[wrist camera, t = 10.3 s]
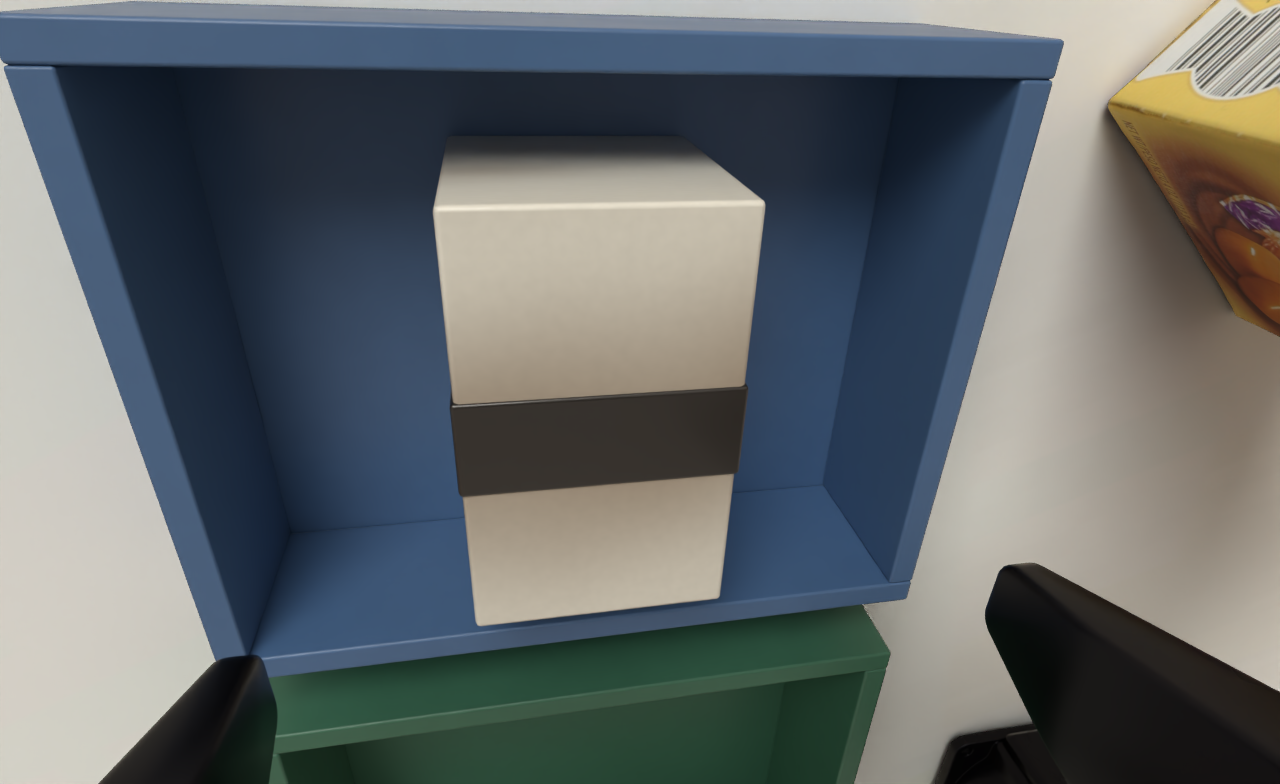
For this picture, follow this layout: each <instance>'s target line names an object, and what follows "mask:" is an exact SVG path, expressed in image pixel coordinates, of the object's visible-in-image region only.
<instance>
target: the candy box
mask: <svg viewBox="0 0 1280 784" xmlns="http://www.w3.org/2000/svg"><path fill="white" fill-rule="evenodd" d="M1108 108H1109V111H1110V112H1111V114H1112V116H1113V118H1114V119H1115V121H1116V122H1117V123H1118V125H1119V127H1120V128H1121V130H1122V132H1123V133H1124V134H1125V136H1126V137H1127V139H1128V140H1129V141H1130V143H1131V144H1132V146H1133V147H1134V148H1135V149H1136V151H1137V153H1138V154H1139V156H1140V158H1141V159H1142V161H1143V162H1144V164H1145V165H1146V167H1147V168H1148V170H1149V172H1150V173H1151V175H1152V177H1153V178H1154V180H1155V181H1156V183H1157V184H1158V186H1159V187H1160V189H1161V191H1162V193H1163V194H1164V195H1165V197H1166V199H1167V200H1168V202H1169V204H1170V205H1171V207H1172V208H1173V210H1174V212H1175V213H1176V215H1177V216H1178V218H1179V220H1180V222H1181V224H1182V225H1183V227H1184V228H1185V230H1186V231H1187V233H1188V235H1189V236H1190V238H1191V239H1192V241H1193V242H1194V244H1195V246H1196V248H1197V249H1198V251H1199V253H1200V254H1201V256H1202V258H1203V260H1204V261H1205V263H1206V265H1207V266H1208V268H1209V269H1210V271H1211V272H1212V274H1213V275H1214V277H1215V278H1216V280H1217V282H1218V283H1219V285H1220V287H1221V289H1222V290H1223V292H1224V294H1225V296H1226V298H1227V300H1228V302H1229V303H1230V305H1231V306H1232V309H1233V311H1234V313H1235V315H1236V316H1238V317H1240V318H1242V319H1244V320H1246V321H1248V322H1250V323H1252V324H1255V325H1257V326H1259V327H1261V328H1263V329H1265V330H1267V331H1269V332H1271V333H1273V334H1275V335H1277V336H1279V337H1280V0H1216V1H1215V2H1214V3H1213V4H1212V5H1211V6H1210V7H1209V8H1207V9H1206V10H1205V11H1204V12H1203V13H1202V14H1201V15H1200V16H1199V17H1198V18H1197V19H1196V20H1194V21H1193V22H1192V23H1191V24H1190V25H1189V26H1188V27H1187V28H1186V29H1185V30H1184V31H1183V32H1182V33H1181V34H1179V35H1178V36H1177V37H1176V38H1175V39H1174V40H1173V41H1172V42H1171V43H1170V44H1169V45H1168V46H1167V47H1166V48H1165V49H1164V50H1163V51H1162V52H1161V53H1160V54H1159V55H1158V56H1157V57H1155V58H1154V59H1153V60H1152V61H1151V62H1150V63H1149V64H1148V65H1147V67H1146V68H1145V69H1144V70H1143V71H1141V72H1140V73H1139V74H1138V75H1137V76H1136V77H1135V78H1134V79H1132V80H1131V81H1130V82H1129V83H1128V84H1127V85H1126V86H1125V87H1123V88H1122V89H1121V90H1120V91H1119V92H1118V93H1117V94H1116V95H1114V96H1113V97H1112V98H1111V99H1110V100H1109V102H1108Z"/></svg>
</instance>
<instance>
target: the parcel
mask: <svg viewBox="0 0 1280 784" xmlns="http://www.w3.org/2000/svg"><path fill="white" fill-rule="evenodd" d="M765 206H766V205H765V202H764V200H762V199H761V198H760V197H759V196H757V195H756V194H755V193H754V192H752V191H751V190H750V189H749V188H747V187H746V186H745V185H743V184H742V183H741V182H740V181H738V180H737V179H736V178H735V177H733V176H732V175H731V174H730V173H728V172H727V171H726V170H725V169H723V168H722V167H721V166H720V165H718V164H717V163H716V162H715V161H713V160H712V159H711V158H710V157H708V156H707V155H706V154H705V153H703V152H702V151H701V150H699V149H698V148H697V147H696V146H694V145H693V144H692V143H691V142H689V141H688V140H687V139H686V138H684V137H682V136H450V137H448V138H447V141H446V146H445V151H444V157H443V162H442V167H441V172H440V177H439V182H438V187H437V192H436V197H435V202H434V208H433V219H434V229H435V238H436V248H437V258H438V267H439V277H440V286H441V296H442V305H443V315H444V325H445V334H446V344H447V353H448V363H449V372H450V382H451V393H450V417H451V427H452V436H453V445H454V455H455V464H456V473H457V483H458V492H459V494H460V496H461V497H463V507H464V516H465V526H466V535H467V545H468V554H469V564H470V574H471V583H472V593H473V602H474V612H475V621H476V623H477V625H478V626H488V625H497V624H505V623H514V622H522V621H531V620H540V619H548V618H557V617H565V616H574V615H582V614H591V613H600V612H608V611H617V610H625V609H634V608H642V607H651V606H660V605H668V604H677V603H685V602H694V601H702V600H711V599H717V598H719V596H720V590H721V582H722V573H723V565H724V556H725V548H726V539H727V531H728V522H729V514H730V505H731V497H732V488H733V479H734V474H736V473H738V471H739V464H740V456H741V447H742V439H743V431H744V423H745V414H746V406H747V398H748V389H749V388H748V386H747V384H746V383H745V377H746V369H747V360H748V351H749V343H750V334H751V326H752V317H753V309H754V300H755V292H756V283H757V275H758V266H759V258H760V249H761V241H762V232H763V224H764V215H765Z"/></svg>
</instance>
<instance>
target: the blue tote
mask: <svg viewBox="0 0 1280 784" xmlns="http://www.w3.org/2000/svg"><path fill="white" fill-rule="evenodd" d="M1063 45H1064V41H1062V40H1061V39H1054V38H1045V37H1036V36H1027V35H1018V34H1009V33H1000V32H991V31H982V30H974V29H965V28H956V27H947V26H938V25H929V24H917V23H882V22H846V21H811V20H776V19H740V18H705V17H670V16H634V15H599V14H564V13H528V12H493V11H458V10H423V9H387V8H352V7H317V6H281V5H246V4H211V3H175V2H140V1H129V2H117V3H105V4H92V5H79V6H66V7H53V8H40V9H28V10H15V11H2V12H0V58H1V60H2V61H3V63H6V64H8V65H7V66H5V67H4V71H5V74H6V77H7V79H8V82H9V85H10V88H11V91H12V93H13V96H14V99H15V102H16V105H17V107H18V110H19V113H20V116H21V118H22V121H23V124H24V127H25V130H26V132H27V135H28V138H29V141H30V144H31V146H32V149H33V152H34V155H35V158H36V160H37V163H38V166H39V169H40V172H41V174H42V177H43V180H44V183H45V186H46V188H47V191H48V194H49V197H50V199H51V202H52V205H53V208H54V211H55V213H56V216H57V219H58V222H59V225H60V227H61V230H62V233H63V236H64V239H65V241H66V244H67V247H68V250H69V253H70V255H71V258H72V261H73V264H74V267H75V269H76V272H77V275H78V278H79V280H80V283H81V286H82V289H83V292H84V294H85V297H86V300H87V303H88V306H89V308H90V311H91V314H92V317H93V320H94V322H95V325H96V328H97V331H98V334H99V336H100V339H101V342H102V345H103V348H104V350H105V353H106V356H107V359H108V361H109V364H110V367H111V370H112V373H113V375H114V378H115V381H116V384H117V387H118V389H119V392H120V395H121V398H122V401H123V403H124V406H125V409H126V412H127V415H128V417H129V420H130V423H131V426H132V429H133V431H134V434H135V437H136V440H137V442H138V445H139V448H140V451H141V454H142V456H143V459H144V462H145V465H146V468H147V470H148V473H149V476H150V479H151V482H152V484H153V487H154V490H155V493H156V496H157V498H158V501H159V504H160V507H161V510H162V512H163V515H164V518H165V521H166V523H167V526H168V529H169V532H170V535H171V537H172V540H173V543H174V546H175V549H176V551H177V554H178V557H179V560H180V563H181V565H182V568H183V571H184V574H185V577H186V579H187V582H188V585H189V588H190V591H191V593H192V596H193V599H194V602H195V604H196V607H197V610H198V613H199V616H200V618H201V621H202V624H203V627H204V630H205V632H206V635H207V638H208V641H209V644H210V646H211V649H212V652H213V655H214V658H215V660H216V661H217V660H219V659H221V658H226V657H235V656H243V655H252V654H254V655H258V656H260V657H261V659H262V660H263V662H264V665H265V668H266V671H267V674H268V677H269V678H272V677H280V676H288V675H297V674H305V673H313V672H321V671H329V670H337V669H345V668H353V667H361V666H369V665H377V664H385V663H394V662H402V661H410V660H418V659H426V658H434V657H442V656H450V655H458V654H466V653H474V652H482V651H491V650H499V649H507V648H515V647H523V646H531V645H539V644H547V643H555V642H563V641H571V640H579V639H588V638H596V637H604V636H612V635H620V634H628V633H636V632H644V631H652V630H660V629H668V628H676V627H685V626H693V625H701V624H709V623H717V622H725V621H733V620H741V619H749V618H757V617H765V616H774V615H782V614H790V613H798V612H806V611H814V610H822V609H830V608H838V607H846V606H854V605H862V604H871V603H879V602H887V601H895V600H903V599H906V598H907V594H908V591H909V587H910V584H911V583H910V580H911V579H912V577H913V573H914V570H915V566H916V563H917V559H918V556H919V552H920V549H921V545H922V541H923V538H924V534H925V531H926V527H927V524H928V520H929V517H930V513H931V510H932V506H933V503H934V499H935V496H936V492H937V489H938V485H939V482H940V478H941V474H942V471H943V467H944V464H945V460H946V457H947V453H948V450H949V446H950V443H951V439H952V436H953V432H954V429H955V425H956V422H957V418H958V415H959V411H960V407H961V404H962V400H963V397H964V393H965V390H966V386H967V383H968V379H969V376H970V372H971V369H972V365H973V362H974V358H975V355H976V351H977V348H978V344H979V340H980V337H981V333H982V330H983V326H984V323H985V319H986V316H987V312H988V309H989V305H990V302H991V298H992V295H993V291H994V288H995V284H996V281H997V277H998V274H999V270H1000V266H1001V263H1002V259H1003V256H1004V252H1005V249H1006V245H1007V242H1008V238H1009V235H1010V231H1011V228H1012V224H1013V221H1014V217H1015V214H1016V210H1017V207H1018V203H1019V199H1020V196H1021V192H1022V189H1023V185H1024V182H1025V178H1026V175H1027V171H1028V168H1029V164H1030V161H1031V157H1032V154H1033V150H1034V147H1035V143H1036V140H1037V136H1038V132H1039V129H1040V125H1041V122H1042V118H1043V115H1044V111H1045V108H1046V104H1047V101H1048V97H1049V94H1050V90H1051V87H1052V82H1051V81H1050V80H1049V79H1052V78H1053V77H1054V76H1055V73H1056V69H1057V66H1058V62H1059V59H1060V55H1061V52H1062V48H1063ZM450 136H682V137H684V138H686V139H687V140H688V141H689V142H691V143H692V144H693V145H694V146H696V147H697V148H698V149H699V150H701V151H702V152H703V153H705V154H706V155H707V156H708V157H710V158H711V159H712V160H713V161H715V162H716V163H717V164H718V165H720V166H721V167H722V168H723V169H725V170H726V171H727V172H728V173H730V174H731V175H732V176H733V177H735V178H736V179H737V180H738V181H740V182H741V183H742V184H743V185H745V186H746V187H747V188H749V189H750V190H751V191H752V192H754V193H755V194H756V195H757V196H759V197H760V198H761V199H762V200H764V202H765V205H766V206H765V215H764V224H763V232H762V241H761V249H760V258H759V266H758V275H757V283H756V292H755V300H754V309H753V317H752V326H751V334H750V343H749V351H748V360H747V369H746V377H745V383H746V384H747V386H748V388H749V389H748V398H747V406H746V414H745V423H744V431H743V439H742V447H741V456H740V464H739V471H738V473H736V474H734V479H733V488H732V497H731V505H730V514H729V522H728V531H727V539H726V548H725V556H724V565H723V573H722V582H721V590H720V596H719V598H717V599H711V600H702V601H694V602H685V603H677V604H668V605H660V606H651V607H642V608H634V609H625V610H617V611H608V612H600V613H591V614H582V615H574V616H565V617H557V618H548V619H540V620H531V621H522V622H514V623H505V624H497V625H488V626H478V625H477V623H476V621H475V612H474V602H473V593H472V583H471V574H470V564H469V554H468V545H467V535H466V526H465V516H464V507H463V497H461V496H460V494H459V492H458V483H457V473H456V464H455V455H454V445H453V436H452V427H451V417H450V393H451V382H450V372H449V363H448V353H447V344H446V334H445V325H444V315H443V305H442V296H441V286H440V277H439V267H438V258H437V248H436V238H435V229H434V219H433V208H434V202H435V197H436V192H437V187H438V182H439V177H440V172H441V167H442V162H443V157H444V151H445V146H446V141H447V138H448V137H450Z"/></svg>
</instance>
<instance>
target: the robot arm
mask: <svg viewBox="0 0 1280 784" xmlns="http://www.w3.org/2000/svg"><path fill="white" fill-rule="evenodd" d="M985 620H986V625H987V628H988V631H989V633H990V635H991V637H992V639H993V641H994V643H995V645H996V647H997V650H998V652H999V654H1000V656H1001V658H1002V660H1003V662H1004V664H1005V666H1006V668H1007V670H1008V672H1009V674H1010V676H1011V678H1012V680H1013V682H1014V685H1015V687H1016V689H1017V691H1018V693H1019V695H1020V697H1021V699H1022V701H1023V703H1024V705H1025V707H1026V709H1027V711H1028V713H1029V715H1030V717H1031V720H1032V722H1033V723H1034V724H1030V725H1024V726H1018V727H1012V728H1006V729H999V730H993V731H987V732H981V733H975V734H969V735H963V736H960V737H958V738H956V739H954V740H953V741H952V742H951V744H950V745H949V748H948V751H947V754H946V756H945V759H944V762H943V764H942V767H941V770H940V772H939V775H938V778H937V780H936V783H935V784H1280V692H1279V691H1277V690H1275V689H1273V688H1271V687H1269V686H1267V685H1266V684H1264V683H1262V682H1260V681H1258V680H1256V679H1254V678H1252V677H1250V676H1249V675H1247V674H1245V673H1243V672H1241V671H1239V670H1237V669H1235V668H1233V667H1232V666H1230V665H1228V664H1226V663H1224V662H1222V661H1220V660H1218V659H1217V658H1215V657H1213V656H1211V655H1209V654H1207V653H1205V652H1203V651H1201V650H1200V649H1198V648H1196V647H1194V646H1192V645H1190V644H1188V643H1186V642H1184V641H1183V640H1181V639H1179V638H1177V637H1175V636H1173V635H1171V634H1169V633H1167V632H1166V631H1164V630H1162V629H1160V628H1158V627H1156V626H1154V625H1152V624H1151V623H1149V622H1147V621H1145V620H1143V619H1141V618H1139V617H1137V616H1135V615H1134V614H1132V613H1130V612H1128V611H1126V610H1124V609H1122V608H1120V607H1118V606H1117V605H1115V604H1113V603H1111V602H1109V601H1107V600H1105V599H1103V598H1101V597H1100V596H1098V595H1096V594H1094V593H1092V592H1090V591H1088V590H1086V589H1084V588H1083V587H1081V586H1079V585H1077V584H1075V583H1073V582H1071V581H1069V580H1068V579H1066V578H1064V577H1062V576H1060V575H1058V574H1056V573H1054V572H1052V571H1051V570H1049V569H1047V568H1045V567H1043V566H1041V565H1039V564H1036V563H1021V564H1012V565H1007V566H1004V567H1003V568H1002V569H1001V570H1000V571H999V573H998V576H997V579H996V581H995V584H994V587H993V590H992V592H991V595H990V598H989V601H988V604H987V606H986V610H985ZM277 721H278V710H277V703H276V700H275V697H274V693H273V690H272V687H271V684H270V681H269V677H268V674H267V671H266V668H265V665H264V662H263V660H262V659H261V657H260V656H258V655H254V654H252V655H243V656H235V657H226V658H221V659H219V660H217V661H216V662H214V663H213V664H212V665H211V666H210V667H209V668H208V669H207V670H206V671H205V672H204V673H203V674H202V675H201V676H200V677H199V678H198V680H197V681H196V682H195V683H194V684H193V685H192V686H191V687H190V688H189V689H188V690H187V691H186V692H185V693H184V694H183V695H182V696H181V697H180V698H179V699H178V701H177V702H176V703H175V704H174V705H173V706H172V707H171V708H170V709H169V710H168V711H167V712H166V713H165V714H164V715H163V716H162V717H161V718H160V719H159V720H158V722H157V723H156V724H155V725H154V726H153V727H152V728H151V729H150V730H149V731H148V732H147V733H146V734H145V735H144V736H143V737H142V738H141V739H140V740H139V742H138V743H137V744H136V745H135V746H134V747H133V748H132V749H131V750H130V751H129V752H128V753H127V754H126V755H125V756H124V757H123V758H122V759H121V760H120V761H119V763H118V764H117V765H116V766H115V767H114V768H113V769H112V770H111V771H110V772H109V773H108V774H107V775H106V776H105V777H104V778H103V779H102V780H101V781H100V782H99V784H269V779H270V772H271V765H272V758H273V751H274V744H275V737H276V730H277Z"/></svg>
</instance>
